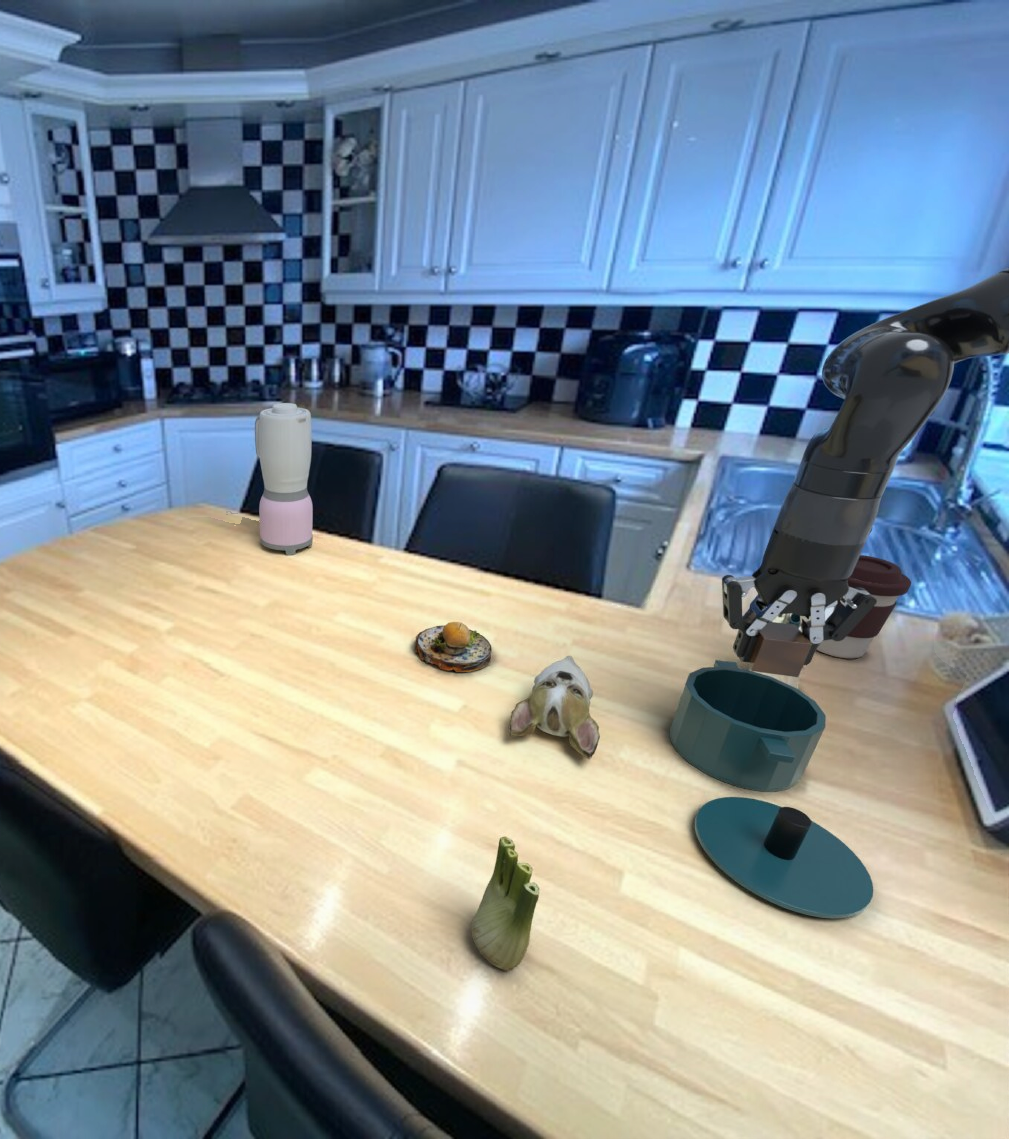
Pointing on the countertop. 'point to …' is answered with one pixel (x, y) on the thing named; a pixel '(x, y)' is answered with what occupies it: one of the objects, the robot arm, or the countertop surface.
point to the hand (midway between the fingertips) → (767, 661)
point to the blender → (285, 477)
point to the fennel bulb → (506, 910)
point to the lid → (784, 857)
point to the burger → (453, 647)
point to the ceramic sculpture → (559, 707)
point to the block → (780, 650)
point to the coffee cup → (885, 588)
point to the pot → (746, 727)
